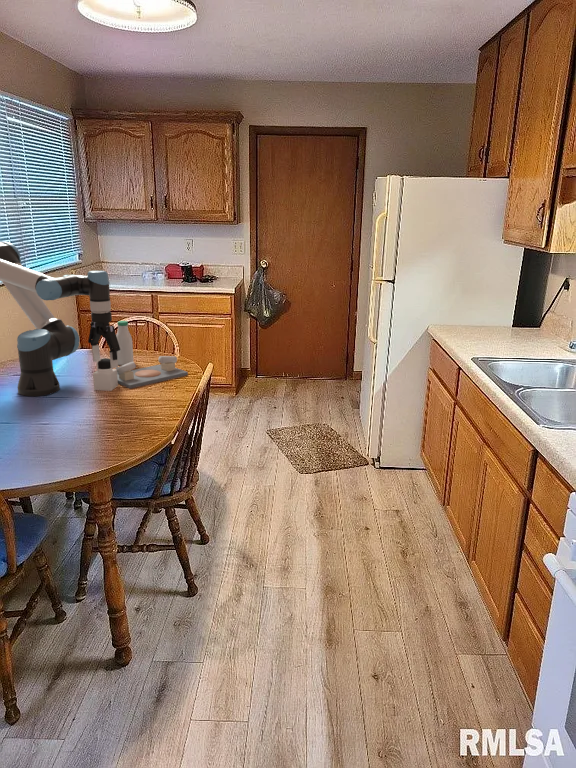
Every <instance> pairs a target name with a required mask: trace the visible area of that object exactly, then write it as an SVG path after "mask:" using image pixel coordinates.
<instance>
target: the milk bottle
mask: <svg viewBox="0 0 576 768" xmlns="http://www.w3.org/2000/svg"><path fill="white" fill-rule="evenodd" d="M116 323H117V332H116V333H115V334H116V337H117V340H118V343H119V346H120V350H119V351H117V360H118V366H122V365H125V364H127V363H130V362H134V349H133V347H134V346H133V338H132V335H131V333H130V331H129V328H128V327H129V323H128V321H127V320H119V321H117V322H116Z"/></svg>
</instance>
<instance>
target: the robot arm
mask: <svg viewBox="0 0 576 768" xmlns="http://www.w3.org/2000/svg"><path fill="white" fill-rule="evenodd" d="M21 257H22V256H21V253H20V251H19V248H17V246H16V245H14V244H13V243H11V242H9V241H4V240H3V241H2V240H0V282H2V283H3V285H4V286H5V287H6V290H8V292H9V294H10V295H11V296H12V298H13V299H14V300H15V302H16V303H17V305H18V306H19V307H20V309H21V310H22V311H23V313H24V314H25V316H27V319H29V321H30V323H31V324H32V325H33V326H34V328H35V329H29V330H25V331H23V332H21V333H20V334H19V335H18V336H17V339H16V342H17V344H16V347H17V348H16V349H17V352H18V359H19V360H18V361H19V367H20V375H19V379H18V383H17V393H18V394H19V395H21V396H24V397H41V396H48V395H52V394H54V393H57V392H59V390H60V389H61V386H60V382H59V379H58V377H57V376H56V373H55V371H54V364H53V361H55V360H58V359H61V358H64V357H67V356H70V355H72V354H74V353H75V352H77V351H78V349H79V347H80V335H79V333H78V331H77V329H76V328H74V326H71V325H66V324H65V323H64V321H63V320H62V319H61V318H56V317H55V315H54V314H53V313H52V312H51V310H50V308H49V307H48V306H47V304H46V303H45V301H55V300H59V299H62V298H69V297H73V296H88V297H89V307H90V311H91V313H90V316H91V321H90V329H89V336H88V340H87V341H88V343H89V344H90V346H91V352H92V361H93V363H95V362H96V361H97V360H99V359H101V353H100V351H101V350H100V343H99V342H100V339H101V337H102V338H103V339H104V340H105V341H106V344H107V347H108V348H109V351H108V352H109V359H110V364H111V368H113V369H116V368H117V367H119V365H118V360H117V351H119V350H120V346H119V343H118V340H117V337H116V334H117V333H116V330H115V326H114V325H110V323H111V322H112V320H113V319H112V318H113V317H112V312H111V310H112V306H111V305H112V303H111V298H110V297H111V296H110V280H109V274H108V272H107V271H106V270H89V271H88V272H87V275H80V274H64V275H62V276H60V277H53V276H50V275H47V274H44V273H42V272H38V271H36V270H32V269H30V268H27V267H25V266H23V265H22V258H21ZM96 363H97V362H96Z"/></svg>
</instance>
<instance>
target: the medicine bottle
mask: <svg viewBox="0 0 576 768" xmlns="http://www.w3.org/2000/svg"><path fill="white" fill-rule="evenodd" d="M92 377H93V390H94V391H104V392H112V391H113V390H114V389H115V388H117V387H118V386H119V384H118V379H117V370H116V368H111V364H110V358H105V357H104V358H103V357H102V358H100V359H99V360H97V361H96V371H94V372H92Z"/></svg>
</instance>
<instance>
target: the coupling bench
mask: <svg viewBox="0 0 576 768" xmlns="http://www.w3.org/2000/svg"><path fill="white" fill-rule="evenodd" d="M177 361H178V357H177V356H175V355H172V356H170V355H160V356H158V363H160V364H156V365H151V366H145V367H141V368H137V366H136V362H134V361H133V362H130V363H127V364H125V365H119V366H118V367H117V368H115V369H116V370H117V379H118V385H121V386H122V387H125V388H127V389H129V390H130V389H134V388H138V387H143V386H148V385H152V384H157V383H161V382H165V381H169V380H174V379H178V378H181V377H182V378H183V377H187V376H188V375H189V372H188V371H186V370H183V369H180V368H177V367H176V363H177ZM186 375H187V376H186Z"/></svg>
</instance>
